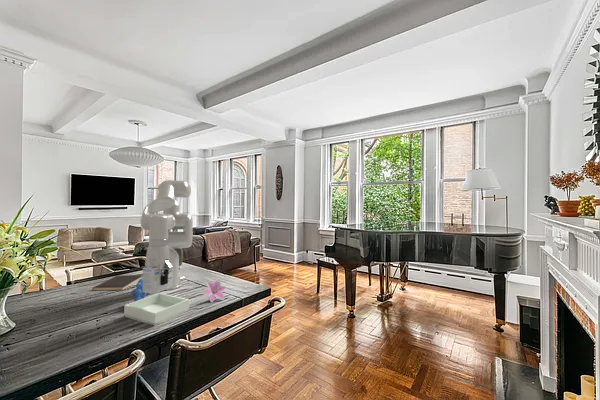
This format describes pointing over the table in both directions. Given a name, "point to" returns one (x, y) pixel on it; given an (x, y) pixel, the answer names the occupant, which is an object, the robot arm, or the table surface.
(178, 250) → the tabletop clock
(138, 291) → the grapes
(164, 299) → the bin
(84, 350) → the table surface
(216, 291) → the lily
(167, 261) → the robot arm
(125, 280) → the hardcover book
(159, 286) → the light bulb box
